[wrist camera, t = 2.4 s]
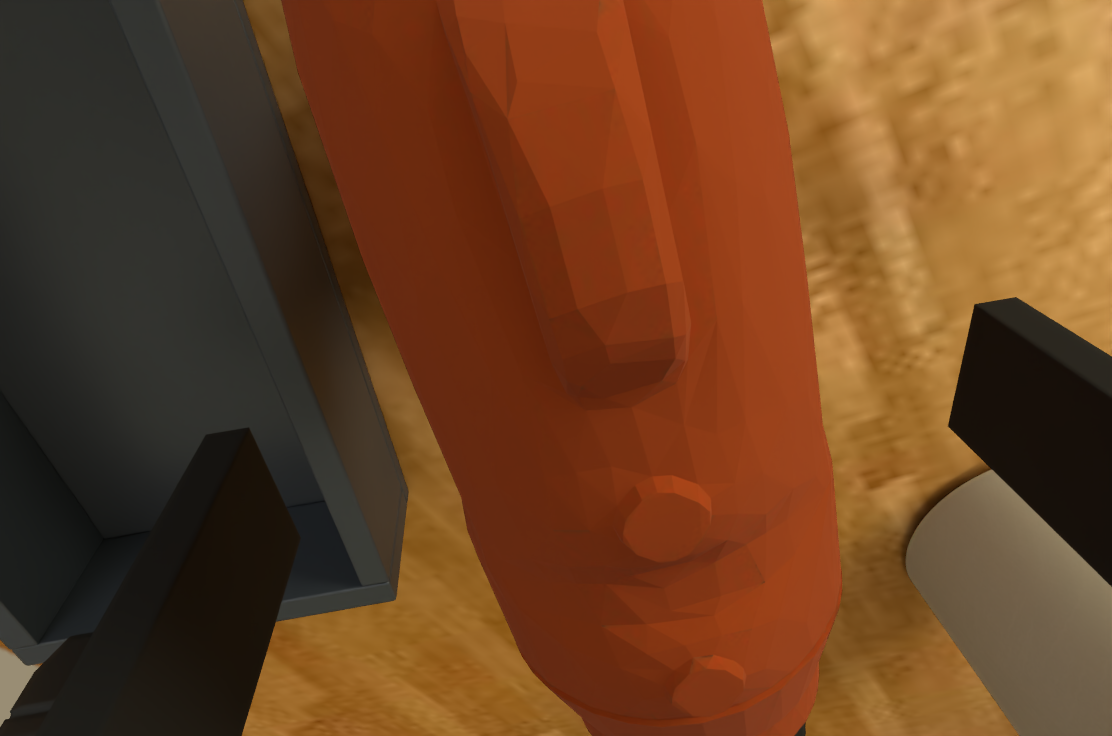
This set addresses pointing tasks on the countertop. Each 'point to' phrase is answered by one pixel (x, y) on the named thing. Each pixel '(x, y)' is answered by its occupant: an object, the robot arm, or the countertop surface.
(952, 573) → the travel mug
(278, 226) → the tray
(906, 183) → the countertop surface
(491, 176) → the toy drill
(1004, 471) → the robot arm
